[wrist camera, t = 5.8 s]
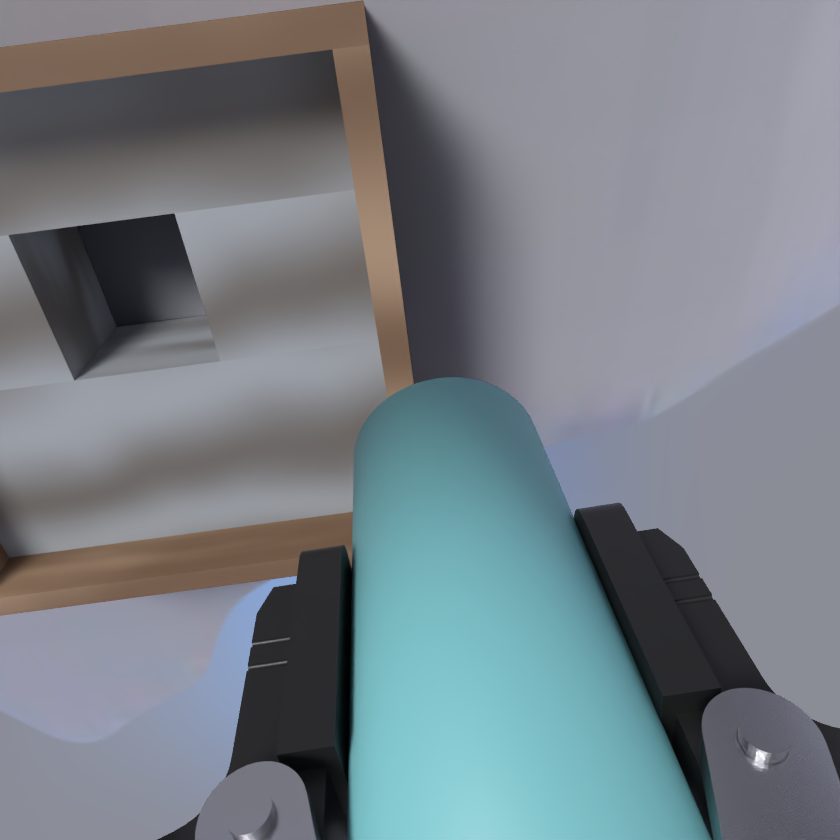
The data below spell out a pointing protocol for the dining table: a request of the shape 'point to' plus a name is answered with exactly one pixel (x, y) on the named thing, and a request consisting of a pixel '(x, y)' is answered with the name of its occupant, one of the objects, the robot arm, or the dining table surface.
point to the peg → (489, 643)
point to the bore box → (220, 294)
